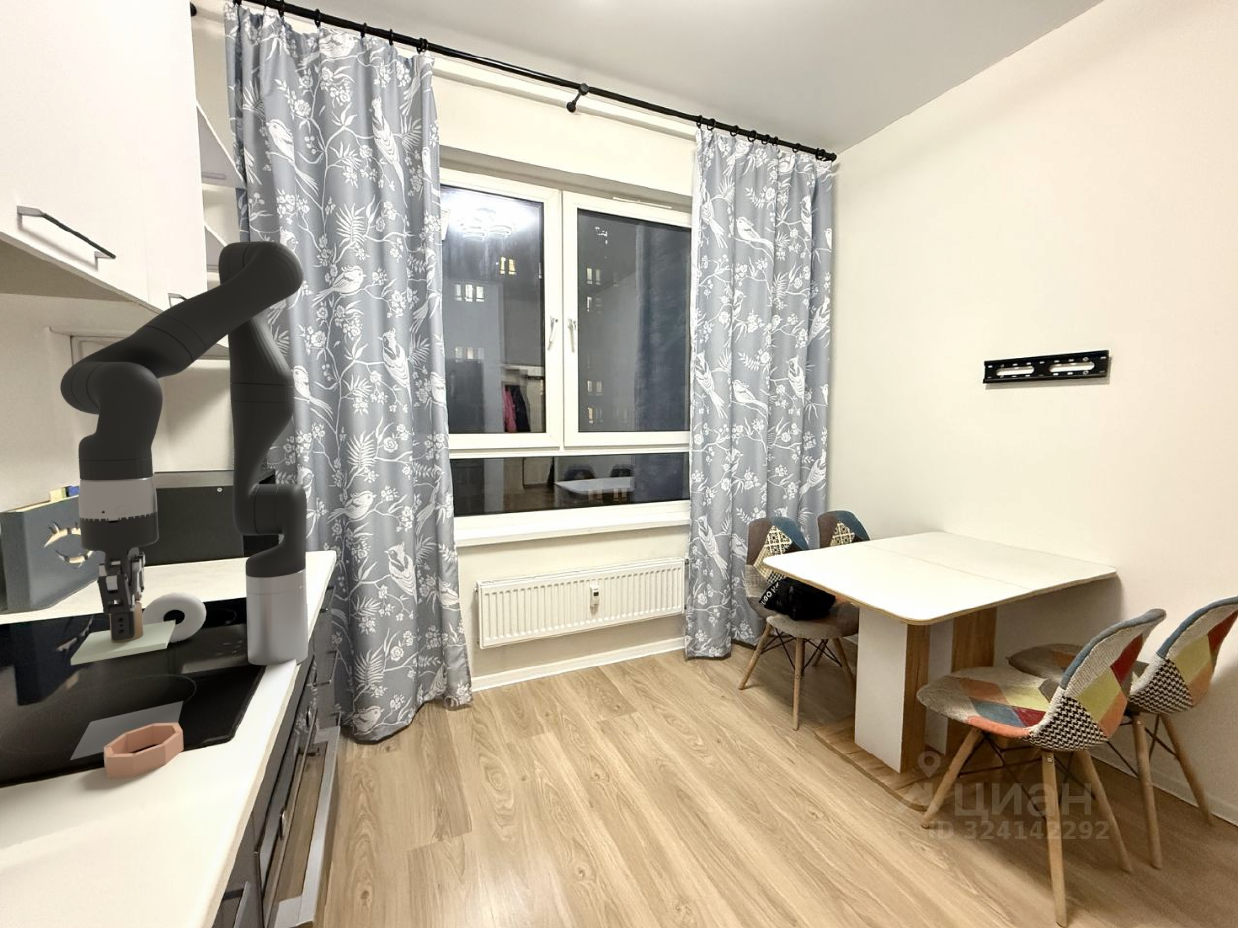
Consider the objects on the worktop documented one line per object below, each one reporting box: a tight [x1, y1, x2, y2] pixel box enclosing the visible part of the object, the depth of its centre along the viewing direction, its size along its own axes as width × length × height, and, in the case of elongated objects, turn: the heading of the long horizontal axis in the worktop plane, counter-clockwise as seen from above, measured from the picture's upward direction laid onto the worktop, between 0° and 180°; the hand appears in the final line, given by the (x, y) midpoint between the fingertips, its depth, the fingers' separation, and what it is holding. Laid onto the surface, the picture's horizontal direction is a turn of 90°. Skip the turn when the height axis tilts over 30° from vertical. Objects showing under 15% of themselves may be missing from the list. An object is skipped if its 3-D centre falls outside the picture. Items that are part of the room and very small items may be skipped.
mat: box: [69, 700, 184, 761], centre depth 71 cm, size 10×10×2 cm
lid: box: [70, 601, 176, 666], centre depth 70 cm, size 9×9×5 cm
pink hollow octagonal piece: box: [103, 722, 184, 779], centre depth 64 cm, size 7×7×4 cm
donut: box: [142, 592, 207, 644], centre depth 101 cm, size 10×4×10 cm, turn 126°
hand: (126, 633), depth 70 cm, fingers closed on lid, 3 cm apart
